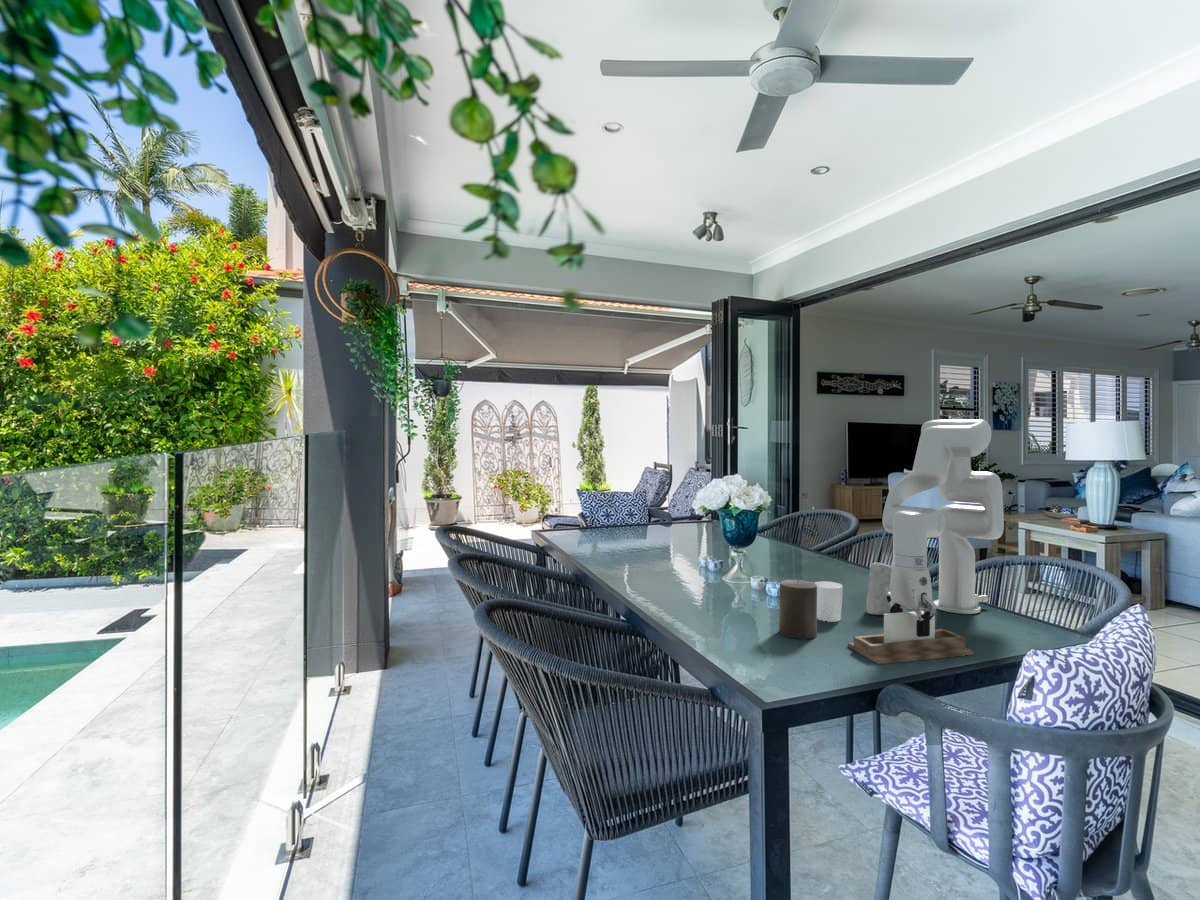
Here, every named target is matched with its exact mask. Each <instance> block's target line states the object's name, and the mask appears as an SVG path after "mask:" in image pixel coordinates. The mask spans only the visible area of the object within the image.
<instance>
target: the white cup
mask: <svg viewBox="0 0 1200 900" xmlns="http://www.w3.org/2000/svg"><path fill="white" fill-rule="evenodd" d="M814 583H815V584H817V621H821V620H822V621H821V622H825V621H827V623H836V622H840V621H841V618H842V605H843V587H844V586H843V584H842V583H839V582H836V581H834V582H833V581H828V580H827V581H826V580H825V581H815V582H814Z"/></svg>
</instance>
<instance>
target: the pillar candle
mask: <svg viewBox="0 0 1200 900" xmlns="http://www.w3.org/2000/svg"><path fill="white" fill-rule="evenodd" d="M778 619H779V624H778V625H779V626H778V631H779V634H780V635H782V636H784V637H786V638H790V639H794V638H795V639H794V640H801V639H805V640H810V639H815V638H817V637H818V636H817V635H818V633H817V632H818V630H817V629H818V619H817V584H815V582H812V581H808V580H803V579H802V580H801V579H798V578H797V579H784V580H782V581H780V582H779V618H778Z"/></svg>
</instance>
